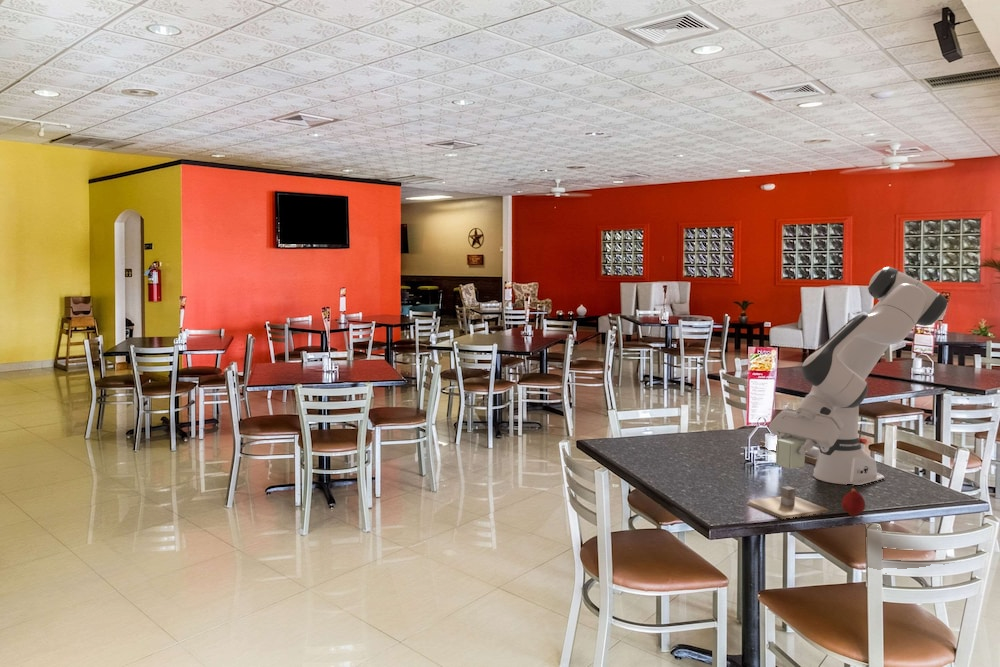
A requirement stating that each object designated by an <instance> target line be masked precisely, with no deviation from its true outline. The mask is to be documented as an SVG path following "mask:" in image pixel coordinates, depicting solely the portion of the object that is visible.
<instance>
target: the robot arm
mask: <svg viewBox="0 0 1000 667" xmlns="http://www.w3.org/2000/svg"><path fill="white" fill-rule="evenodd" d="M867 290H868V294H869V295H870V296H871V297H872V298H874V299H875V300H878V301H877V303H876V304H875V305H873V307H872V308H871V309H870V310H868V311H867V313H860V314H858V315H856V316H854V317H853V318H851V319H850V320H849V321H847V322H846V323H845V324H844V325H843V326H842V327H841V328H840V329H838V331H837V332H835V333H834V334H833V335H832V336H831V337H830V338H829V339H828V340H827V341H826V342H824V344H822V345H821V346H820V347H819V348H818V349H817V350H815V351H814V352H812V353H811V354H810V355H809V356H808V357H806V359H805V360H804V361H803V362H802V365H801V372H802V377H803V380H805V381H807V383H810V384H811V385H812V386H811V388H810V392H809V393H808V394H806V395H805V397H804V398H803V400H802V401H801V402H800V404H799V406H798V407H797V408H796V409H793V408H791V407H790V408H789V407H788V408H786V409H782V410H780V412H778V414H776V416H775V417H774V418H773V420H772V421H771V422H770V423H769V425H768V428H769V430H770V432H771V433H772V434H773V436H775V435H777V436H779V439H786V438H792V439H796V440H800V441H805V444H804V445H803V446H799V447H798V449H797V450H796V452H797V453H798V454H800V455H804V453H805V452H806V451H807V450H809V449H811V448H813V446H816V447H817V446H818V448H819V449H818V454H817V460H816V464H815V467H814V468H813V474H812V476H813V477H814V478H815V479H817V480H820V481H822V482H825V483H831V484H836V485H837V484H838V485H847V484H854V485H860V484H864V483H868V482H871V481H875V480H879V479H882V478H885V476H884V475H883V474H881V473H879V472H878V471H877V470H878V469H877V462H876V460H875V459H874V458H873V457H872V456H871V455H870V454H868V452H866V451H865V450H864V449H862V445H867V443H868V442H869V441H868V439H867V438H865V437H862V436H861V437H858V433H859V431H858V430H859V415H860V414H859V412H860V405H861V404H862V402H864V399H866V397H867V395H868V390H869V389H868V388H869V386H868V382H867V381H866V379H867V378H868V376H869V375H870V374H871V372H872V370H873V369H874V368H875V366H876V365H877V363H878V362H879V360H880V359H881V357H882V356H884V354H885V352H886V351H887V350H888V349H889V348H890V346H891V345H894V344H895V345H896V344H898V343H900V342H902V341H903V340H905V338H907V337H908V335H909V334H910V333H911V332H912V330H913V329H914V327H916V326H917V325H919V326H924V327H925V326H931V325H933V324H934V323H936V322H938V321H940V320H941V319H942V318H943V317H944V315H945V313H946V310H947V306H948V299H947V298H946V297H945V296H944V295H942V293H940V292H937V291H936V290H935V289H933V288H932V287H930V286H929V285H928V284H926V283H925V282H923V281H921V280H918V279H917V278H915V277H913V276H910V275H908V274H906V273H903V272H901V271H899V269H897V268H895V267H892V266H886V267H885V266H884V267H883V268H882V269H880V270H878V271H877V272H875V273H874V274H873V275H872V277H871V278H870V280H869V284H868V287H867ZM854 485H853V486H854Z"/></svg>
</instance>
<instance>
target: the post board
mask: <svg viewBox="0 0 1000 667" xmlns="http://www.w3.org/2000/svg"><path fill="white" fill-rule="evenodd" d="M780 489H781V490H780V496H776V497H773V496H772V497H769V498H760V499H753V500H752V499H751V500H748V503H747V504H748V505H749V506H751V507H753V508H756V509H758V510H760V511H763V512H765V513H766V514H769V513H770V514H769V515H771V514H772V516H774V515H775V516H774V517H776V516H777V517H776V518H778V517H780V518H782V519H781V520H783V519H784V520H787V519H786V518H790V519H795V517H797V518H802V517H808V516H809V515H810V516H814V515H813V514H816V515H820V514H819V513H823V512H828V513H829V510H828V508H826V507H823V506H822V505H821V506H820V505H818V504H816V503H813V502H811V501H808V500H806V499H803V498H801V497H798V496H796V488H794V487H791V486H782V487H781V488H780ZM823 514H824V513H823ZM801 516H802V517H801ZM793 517H794V518H793ZM780 518H779V519H780Z"/></svg>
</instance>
